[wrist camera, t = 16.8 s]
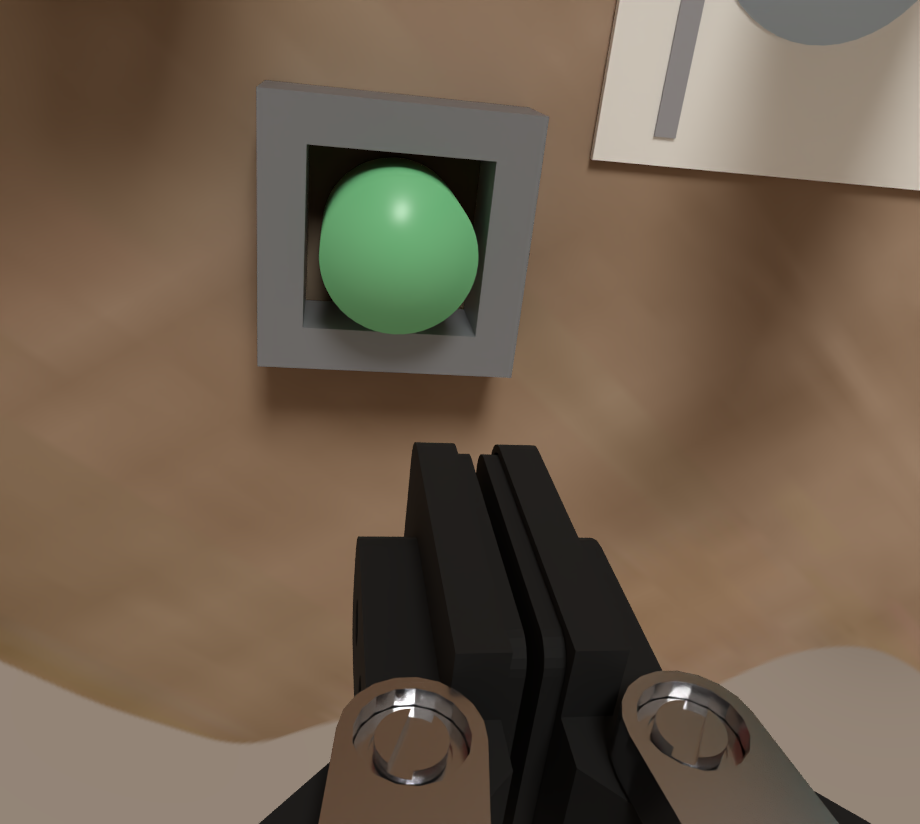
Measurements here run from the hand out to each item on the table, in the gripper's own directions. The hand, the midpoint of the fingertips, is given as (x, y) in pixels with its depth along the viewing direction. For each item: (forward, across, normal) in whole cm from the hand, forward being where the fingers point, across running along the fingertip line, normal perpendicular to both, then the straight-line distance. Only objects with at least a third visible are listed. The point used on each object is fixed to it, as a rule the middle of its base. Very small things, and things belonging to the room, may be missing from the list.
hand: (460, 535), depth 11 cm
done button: (+19, 0, 0) cm, 19 cm away
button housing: (+20, 0, 0) cm, 20 cm away
